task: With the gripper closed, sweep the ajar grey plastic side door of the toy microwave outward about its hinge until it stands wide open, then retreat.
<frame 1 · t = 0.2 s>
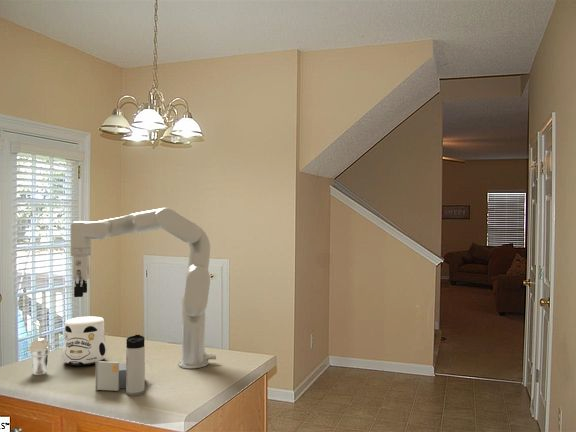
hand: (80, 294, 201), 31 cm above the worktop, fingers open, 9 cm apart
travel mug: (135, 393, 179), on the worktop
milk container: (84, 362, 214), on the worktop
cup with straw: (39, 373, 200), on the worktop
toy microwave: (121, 384, 187), on the worktop
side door: (106, 376, 180), point 5 cm above the worktop, hinge at 20.0°
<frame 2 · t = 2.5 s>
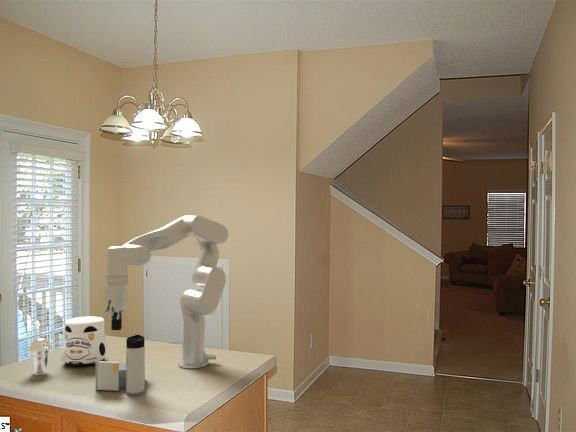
hand: (116, 329, 185), 21 cm above the worktop, fingers closed
nothing on the worktop moved.
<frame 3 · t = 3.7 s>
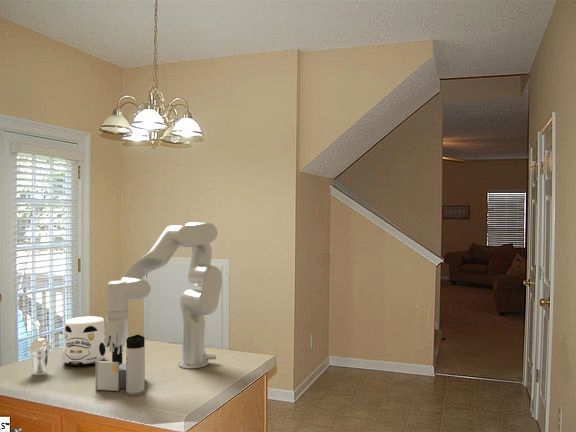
hand: (117, 364, 185), 8 cm above the worktop, fingers closed
nothing on the worktop moved.
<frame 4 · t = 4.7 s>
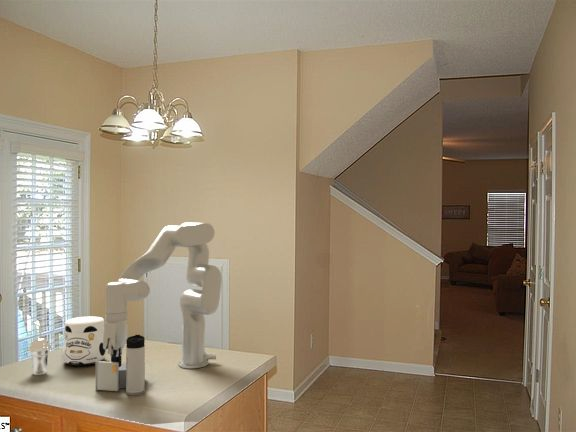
hand: (116, 366, 182), 8 cm above the worktop, fingers closed
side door: (106, 376, 180), point 5 cm above the worktop, hinge at 22.7°, touching gripper
everything else where it was.
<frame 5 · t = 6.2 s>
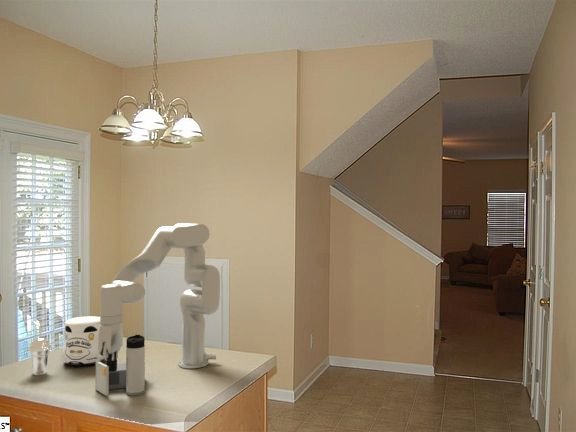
hand: (111, 370, 178), 8 cm above the worktop, fingers closed
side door: (101, 378, 178), point 5 cm above the worktop, hinge at 58.3°, touching gripper
everything else where it was.
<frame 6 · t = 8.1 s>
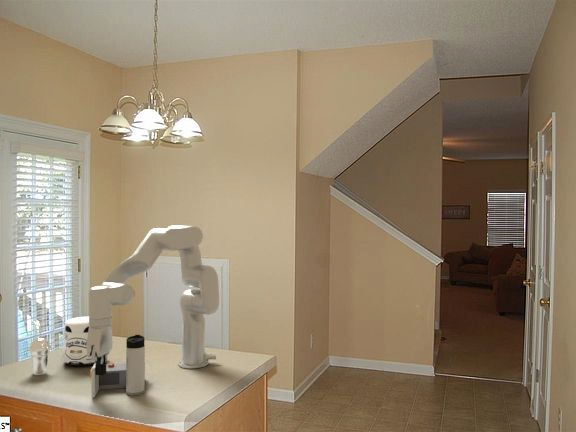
hand: (100, 374, 175), 8 cm above the worktop, fingers closed
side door: (94, 379, 177), point 5 cm above the worktop, hinge at 91.8°, touching gripper
everything else where it was.
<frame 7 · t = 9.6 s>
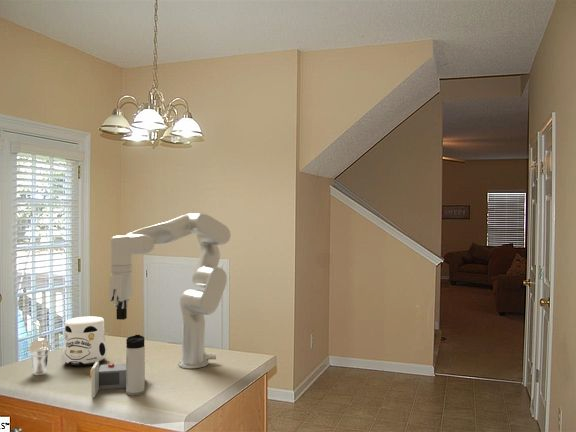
hand: (121, 318, 185), 25 cm above the worktop, fingers closed
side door: (94, 379, 177), point 5 cm above the worktop, hinge at 91.8°
everything else where it was.
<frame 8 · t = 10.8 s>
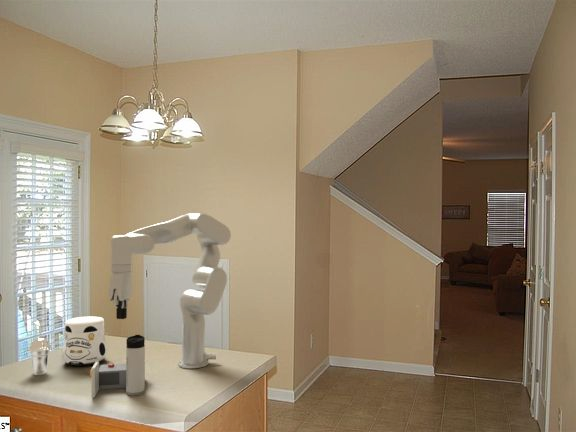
hand: (121, 318, 185), 25 cm above the worktop, fingers closed
nothing on the worktop moved.
at the end: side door at +92° (first picture: +20°) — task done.
